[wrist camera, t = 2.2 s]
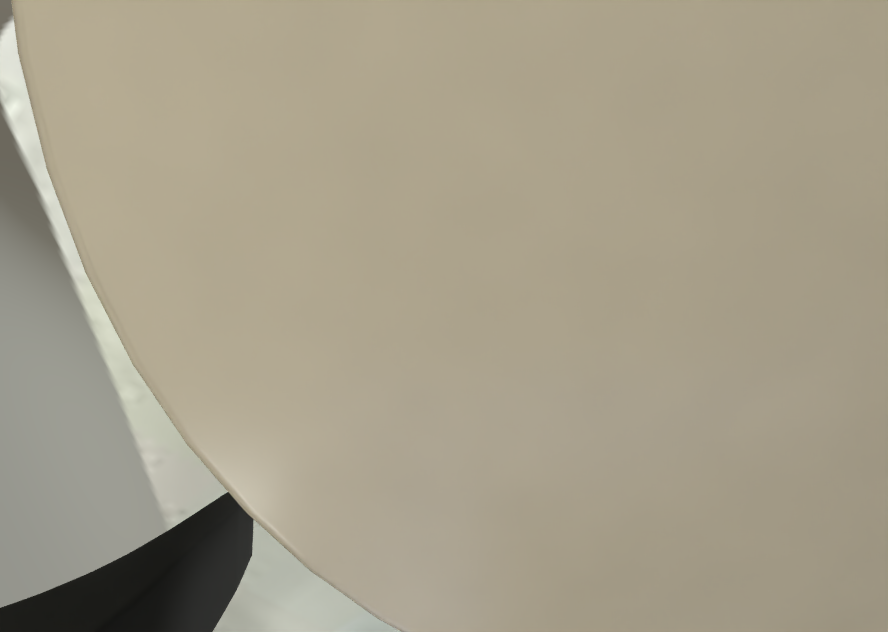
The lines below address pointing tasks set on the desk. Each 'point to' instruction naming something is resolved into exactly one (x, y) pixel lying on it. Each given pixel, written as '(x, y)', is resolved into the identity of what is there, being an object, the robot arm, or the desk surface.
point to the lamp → (505, 290)
